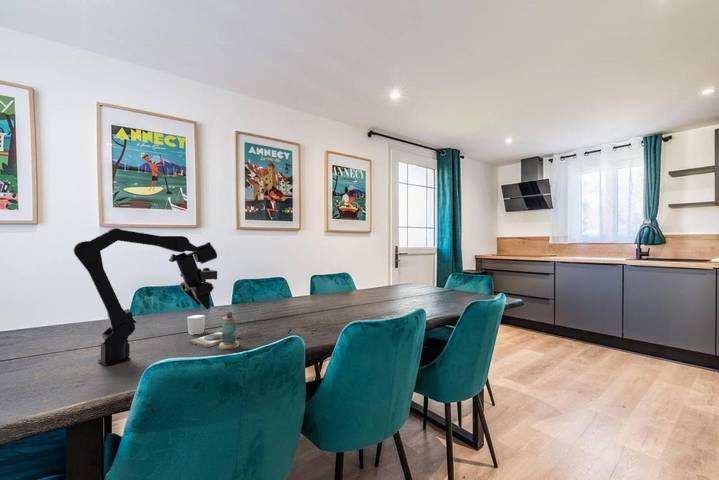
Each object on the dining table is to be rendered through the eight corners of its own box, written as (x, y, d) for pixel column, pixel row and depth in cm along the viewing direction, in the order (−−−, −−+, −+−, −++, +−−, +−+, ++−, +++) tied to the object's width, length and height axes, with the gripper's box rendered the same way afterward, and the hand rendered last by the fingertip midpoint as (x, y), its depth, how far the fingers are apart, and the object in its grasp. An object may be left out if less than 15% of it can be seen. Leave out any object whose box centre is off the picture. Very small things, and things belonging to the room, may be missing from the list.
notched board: (206, 347, 114) (206, 340, 114) (189, 342, 119) (189, 336, 119) (238, 337, 126) (238, 331, 126) (222, 333, 131) (222, 327, 131)
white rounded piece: (200, 335, 128) (200, 318, 128) (183, 335, 129) (183, 318, 129) (208, 330, 135) (208, 314, 135) (192, 330, 135) (192, 314, 135)
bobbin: (227, 350, 111) (227, 315, 111) (215, 347, 114) (215, 312, 114) (242, 345, 117) (243, 311, 117) (230, 342, 120) (231, 309, 120)
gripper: (219, 261, 114) (234, 300, 118) (202, 259, 128) (215, 294, 131) (188, 274, 107) (204, 315, 111) (172, 270, 120) (187, 306, 124)
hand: (204, 306), depth 119 cm, fingers open, 9 cm apart
